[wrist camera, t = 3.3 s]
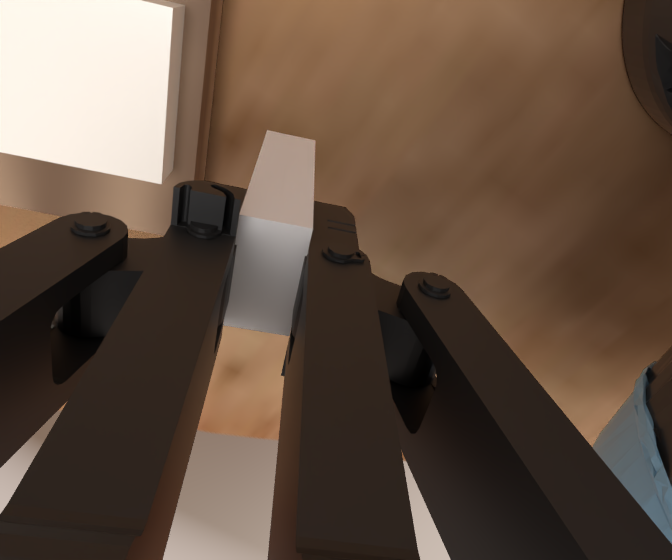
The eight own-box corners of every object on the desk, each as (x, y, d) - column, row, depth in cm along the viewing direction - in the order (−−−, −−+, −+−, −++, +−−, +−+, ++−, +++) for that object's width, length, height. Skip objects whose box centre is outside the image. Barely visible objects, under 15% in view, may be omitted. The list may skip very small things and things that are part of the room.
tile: (185, 5, 22) (173, 7, 20) (172, 169, 25) (161, 184, 23) (-80, -59, 20) (-118, -62, 19) (-56, 123, 24) (-86, 135, 22)
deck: (232, -84, 23) (219, -91, 20) (200, 216, 29) (188, 240, 27) (-72, -164, 21) (-127, -183, 19) (-32, 171, 28) (-68, 191, 25)
